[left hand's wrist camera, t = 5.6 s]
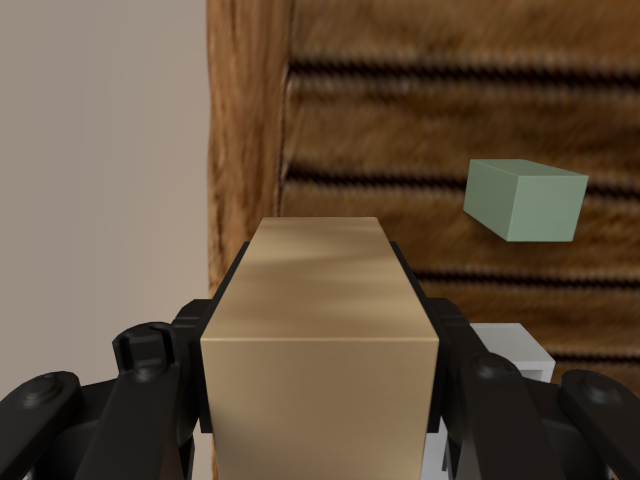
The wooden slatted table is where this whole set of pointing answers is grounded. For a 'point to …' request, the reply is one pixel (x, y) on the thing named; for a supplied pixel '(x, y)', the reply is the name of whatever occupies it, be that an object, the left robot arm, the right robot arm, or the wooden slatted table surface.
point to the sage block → (524, 199)
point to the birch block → (319, 357)
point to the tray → (508, 344)
